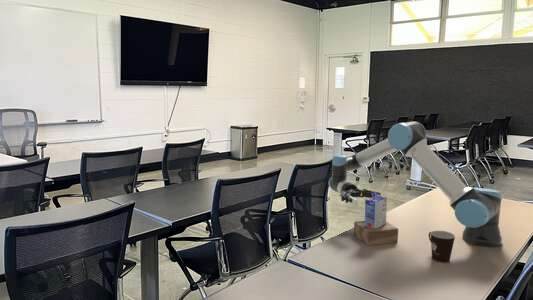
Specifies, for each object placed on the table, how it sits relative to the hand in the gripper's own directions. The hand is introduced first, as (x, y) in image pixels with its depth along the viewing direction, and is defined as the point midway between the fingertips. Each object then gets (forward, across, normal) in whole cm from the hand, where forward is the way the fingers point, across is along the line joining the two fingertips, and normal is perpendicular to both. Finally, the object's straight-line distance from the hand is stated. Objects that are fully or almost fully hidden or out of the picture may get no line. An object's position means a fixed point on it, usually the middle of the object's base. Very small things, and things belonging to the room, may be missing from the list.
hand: (370, 201), depth 178 cm
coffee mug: (+30, -14, -16) cm, 36 cm away
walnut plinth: (+5, 0, -15) cm, 16 cm away
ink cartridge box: (+5, 0, -10) cm, 11 cm away
